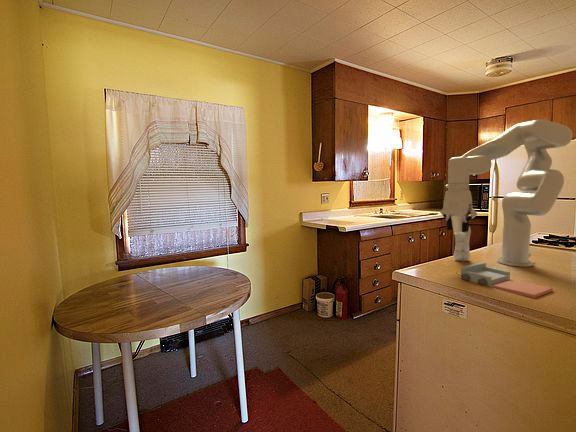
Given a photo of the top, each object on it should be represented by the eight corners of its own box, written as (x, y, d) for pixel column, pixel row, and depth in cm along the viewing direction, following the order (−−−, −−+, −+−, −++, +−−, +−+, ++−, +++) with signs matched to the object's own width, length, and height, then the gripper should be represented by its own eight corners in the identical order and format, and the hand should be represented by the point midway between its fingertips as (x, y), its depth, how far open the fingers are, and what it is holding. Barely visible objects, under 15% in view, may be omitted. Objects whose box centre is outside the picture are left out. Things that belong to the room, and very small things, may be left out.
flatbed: (482, 274, 118) (483, 261, 118) (513, 281, 109) (513, 268, 108) (459, 280, 111) (460, 267, 111) (489, 288, 102) (490, 274, 101)
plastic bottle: (470, 263, 133) (472, 219, 131) (452, 262, 137) (454, 218, 135) (470, 260, 138) (472, 217, 136) (453, 258, 142) (455, 217, 140)
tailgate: (511, 282, 108) (511, 279, 108) (552, 290, 97) (553, 287, 97) (492, 288, 102) (492, 285, 102) (534, 297, 92) (534, 294, 92)
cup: (470, 233, 126) (470, 214, 125) (466, 237, 118) (467, 217, 117) (451, 232, 130) (452, 213, 129) (446, 236, 122) (447, 216, 121)
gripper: (433, 188, 128) (433, 229, 130) (473, 187, 113) (472, 234, 115) (444, 187, 132) (444, 227, 134) (485, 186, 116) (484, 232, 118)
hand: (457, 230), depth 124 cm, fingers closed on cup, 5 cm apart
